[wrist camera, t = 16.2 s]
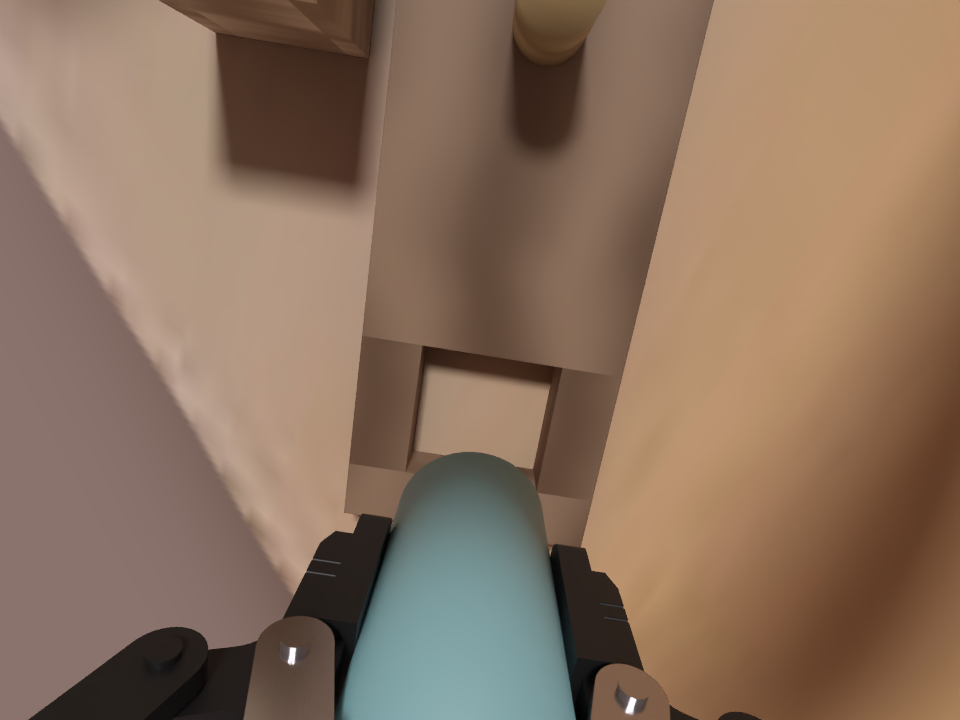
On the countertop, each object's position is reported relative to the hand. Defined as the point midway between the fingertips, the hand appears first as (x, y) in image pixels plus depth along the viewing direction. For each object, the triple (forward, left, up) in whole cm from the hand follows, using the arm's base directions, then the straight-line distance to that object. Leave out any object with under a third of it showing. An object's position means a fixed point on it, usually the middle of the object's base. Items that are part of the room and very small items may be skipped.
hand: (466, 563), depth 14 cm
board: (0, -7, -11) cm, 13 cm away
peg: (0, 0, -2) cm, 2 cm away
